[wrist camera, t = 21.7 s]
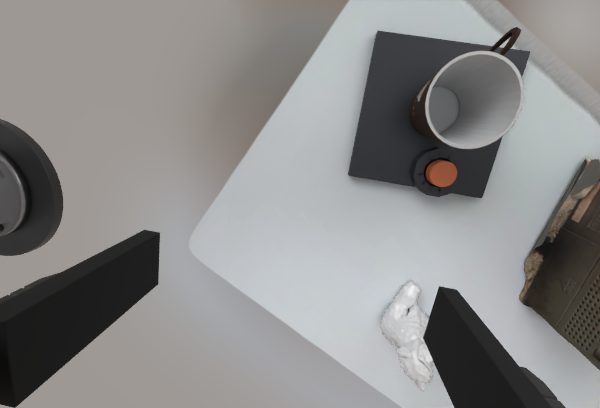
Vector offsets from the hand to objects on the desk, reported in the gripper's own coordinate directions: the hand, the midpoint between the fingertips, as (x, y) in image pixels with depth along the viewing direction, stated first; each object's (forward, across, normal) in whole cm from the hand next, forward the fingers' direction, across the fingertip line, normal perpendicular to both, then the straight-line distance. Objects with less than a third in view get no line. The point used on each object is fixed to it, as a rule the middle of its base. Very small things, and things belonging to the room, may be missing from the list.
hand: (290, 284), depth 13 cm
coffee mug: (+28, +14, +13) cm, 34 cm away
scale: (+29, +13, +11) cm, 33 cm away
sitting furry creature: (+29, +17, -18) cm, 38 cm away
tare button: (+26, +15, +5) cm, 30 cm away
